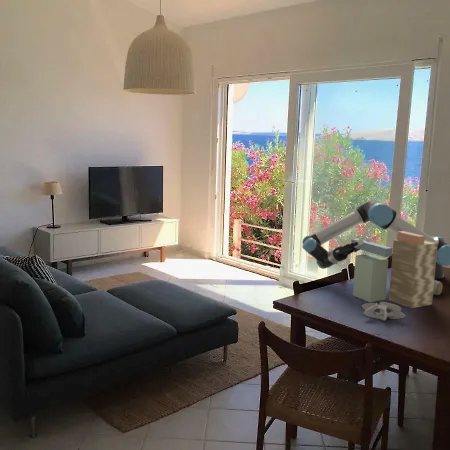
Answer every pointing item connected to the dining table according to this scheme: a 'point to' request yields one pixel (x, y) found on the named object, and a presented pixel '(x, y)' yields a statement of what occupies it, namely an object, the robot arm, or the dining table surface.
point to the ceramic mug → (437, 288)
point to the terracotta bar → (410, 238)
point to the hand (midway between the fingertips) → (366, 240)
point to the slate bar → (374, 248)
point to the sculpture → (383, 306)
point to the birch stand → (413, 273)
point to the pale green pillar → (370, 277)
